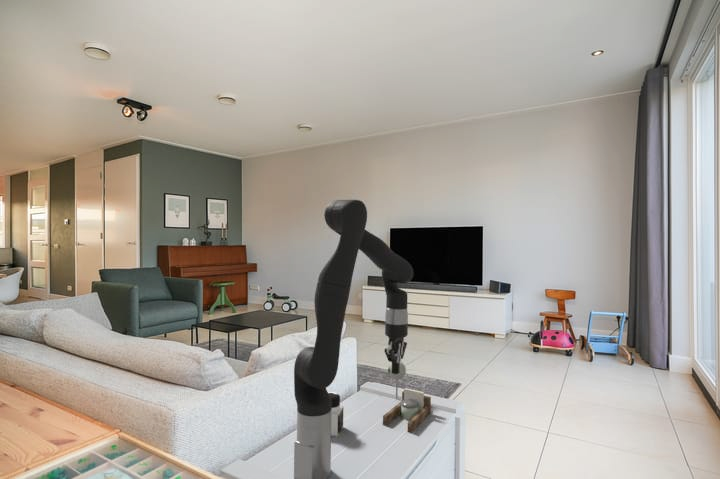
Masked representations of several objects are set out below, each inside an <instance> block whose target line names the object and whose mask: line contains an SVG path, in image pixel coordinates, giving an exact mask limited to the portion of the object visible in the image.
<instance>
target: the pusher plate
mask: <svg viewBox="0 0 720 479" xmlns="http://www.w3.org/2000/svg"><path fill="white" fill-rule="evenodd" d="M403 391H404V400H407V399H410V400H415V401H417V402H418V413H419V412H420V411H421V410H422V409H423V408H424V396H425V392H424V391H419V390H415V389H410V388H406V387H405V388H403Z"/></svg>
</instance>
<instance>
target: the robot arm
mask: <svg viewBox="0 0 720 479" xmlns="http://www.w3.org/2000/svg"><path fill="white" fill-rule="evenodd" d="M367 209H368V208H367V207H366V204H365V203H364V202H363V201H362V200H359V199H337V200H332V201H331V202H329V203H328V204H327V205H326V207H325V209H324V215H323V216H324V221H325V223H326V225H327V227H329V229H331V230H332V231H333V232H334V233H336V234H338V235H340V236H339V242H338V244H337V246H336V249H335V250H334V252H333V253H332V256H330V258H329V260H327V262H326V263H325V265H324V266H323V268H321V271H320V272H319V275H318V278H317V284H316V287H315V293H314V302H313V303H314V312H315V320H316V336H315V343H314V346H307V347H305V348H303V349H301V351H299V353H298V354H297V356H296V358H295V362H294V366H293V383H294V384H293V385H294V388H293V390H294V392H293V393H294V398H295V402H296V405H297V406H296V408H297V409H296V410H297V411H296V415H297V416H296V440H295V441H294V443H293V444H294V445H293V446H294V447H293V453H294V454H293V456H294V457H293V461H294V462H293V478H294V479H328V478H329V477H330V476H331V472H332V470H331V469H332V468H331V464H332V463H331V462H332V457H331V456H332V436H331V414H332V401H331V397H330V395H329V394H328V392H329V391H328V390H327V388H328V387H330V385H331V384H332V383H333V382H334V381H335V378H336V376H337V374H338V369H339V361H340V351H341V340H342V333H343V329H344V328H343V327H344V323H345V316H346V311H347V306H348V302H349V296H350V292H351V287H352V280H353V276H354V271H355V267H356V262H357V258H358V253H359V250H360V251H361V252H362V253H363V254H364V255H365V256H366V257H367V258H368V259H369V260H370V261H371V262H372V263H373V264H374V265H375V266H376V267H377V268H379V269H380V270H381V278H382V282H383V287H384V291H385V295H386V296H385V297H386V300H385V301H386V303H385V304H386V308H385V315H384V316H385V317H384V318H385V321H384V326H385V327H384V329H385V330H384V335H385V336H387V337H388V343H387V344H388V346H387V347H386V348H384V354H385V356H386V358H387V360H388V362H390V363H392V373H393V374H398V373H399V372H400V362H402V361H401V360H402V359H404V356H405V353H406V349H407V345H408V343H407V341H405V338H406V337H407V336H408V333H409V332H408V331H409V330H408V329H409V328H408V326H409V323H408V322H409V312H408V293H407V291H406V290H403V289H401V288H399V285H398V284H407V283H409V282H411V281H412V280H413V277H414V269H413V267H412V265H411V263H410V262H408V261H407V260H406V258H403V257H402V256H400V255H398V254H397V253H395V252H394V251H393V250H392V248H390V247H389V245H388V244H387V243H386V242H385V241H384V240H383V239H381V238H380V237H378V236H376V235H375V234H374V233H371V232H370V231H369V230H366V226H367V221H368V210H367Z"/></svg>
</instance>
